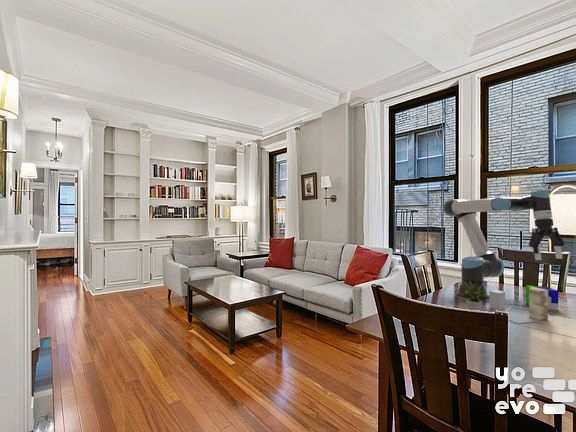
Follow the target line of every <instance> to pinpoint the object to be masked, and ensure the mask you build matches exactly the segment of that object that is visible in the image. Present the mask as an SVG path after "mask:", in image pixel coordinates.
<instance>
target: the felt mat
mask: <svg viewBox="0 0 576 432" xmlns="http://www.w3.org/2000/svg"><path fill="white" fill-rule="evenodd" d="M508 316H509V320H508V321H510V322H513V323H514V324H517V325H518V324H519V325H520V324H532V323H533V324H534V323H540V321H541V320H537V319H534V318H531V317H529V316H525V315H522V314H521V315H520V314H517V315H508Z"/></svg>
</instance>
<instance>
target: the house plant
mask: <svg viewBox="0 0 576 432" xmlns="http://www.w3.org/2000/svg"><path fill="white" fill-rule="evenodd" d="M463 282H464V281H463ZM476 282H477V281H476ZM465 284H466V285H467V283H466V282H465ZM476 284H477V283H476ZM476 284H475V285H476ZM459 285H461V283H460V284H459ZM463 285H464V284H463ZM475 285H474V286H473V285H472V284H471V282H470V287H471V288H470V287H468V285H467V287H468V288H467V287H466V286H465V285H464V286H465V287H466V288H467V289H468V290H469V291H465V292H467V293H468V295H469V296H470V298H469V297H468V296H467V295H466V293H463V294H462V295H464V294H465V295H466V296H467V297H466V299H465V301H466V307H467V310H468V309H470V310H480V312H482V311H481V310H482V304H483V300H481V299H478V298H479V297H480V296H481V295H484V294H479V293H480V292H481V291H482V290H483V289H484V288H483V289H482V290H481V291H479V290H480V288H481V286H482V285H481V286H480V288H478V289H476V291H474V289H475ZM461 286H462V285H461ZM464 286H463V287H464ZM465 287H464V288H465ZM466 288H465V289H466ZM486 288H489V285H487V286H485V289H486ZM459 292H460V291H459ZM470 293H471V294H470ZM485 295H486V294H485ZM483 297H484V296H483ZM481 298H482V297H481Z"/></svg>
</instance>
